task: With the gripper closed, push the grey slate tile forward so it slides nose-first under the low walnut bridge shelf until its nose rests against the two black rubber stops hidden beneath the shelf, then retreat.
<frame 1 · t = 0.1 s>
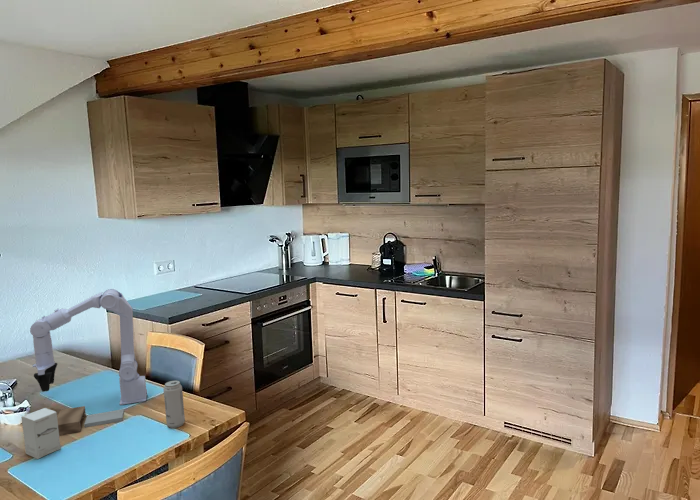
hand: (48, 387, 190), 10 cm above the table, fingers open, 7 cm apart
walnut bridge shelf: (70, 425, 180), on the table
energy drink can: (176, 425, 178), on the table
supplement box: (43, 452, 163), on the table
slate tile: (104, 421, 184), on the table
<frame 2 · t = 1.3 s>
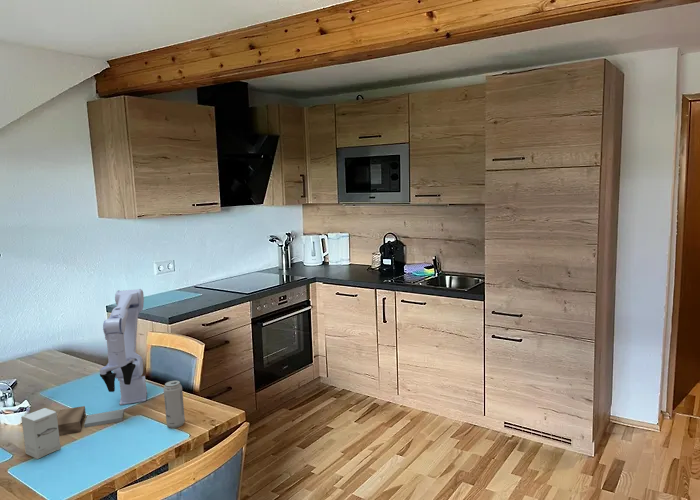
hand: (119, 387, 186), 10 cm above the table, fingers open, 7 cm apart
nothing on the table moved.
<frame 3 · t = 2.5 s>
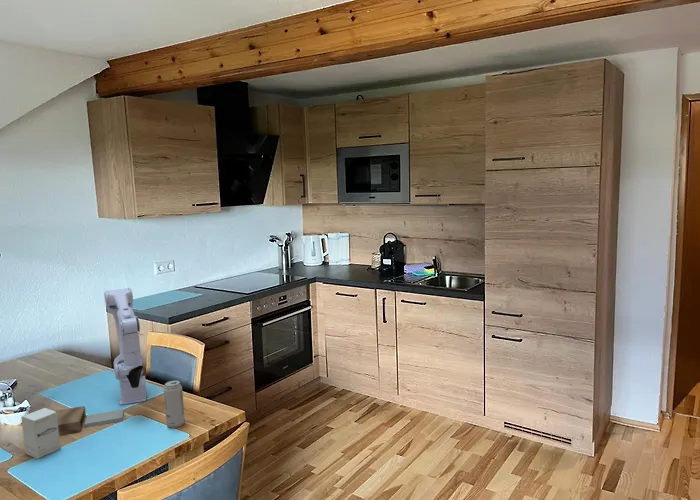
hand: (135, 387, 186), 10 cm above the table, fingers closed
nothing on the table moved.
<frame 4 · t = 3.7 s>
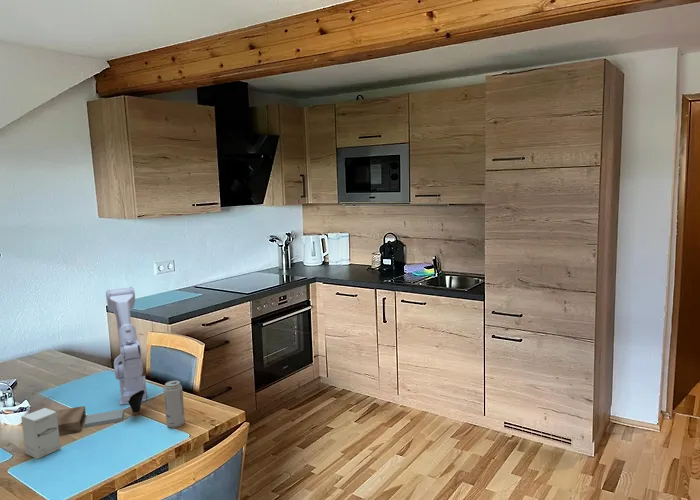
hand: (136, 411, 187), 1 cm above the table, fingers closed
nothing on the table moved.
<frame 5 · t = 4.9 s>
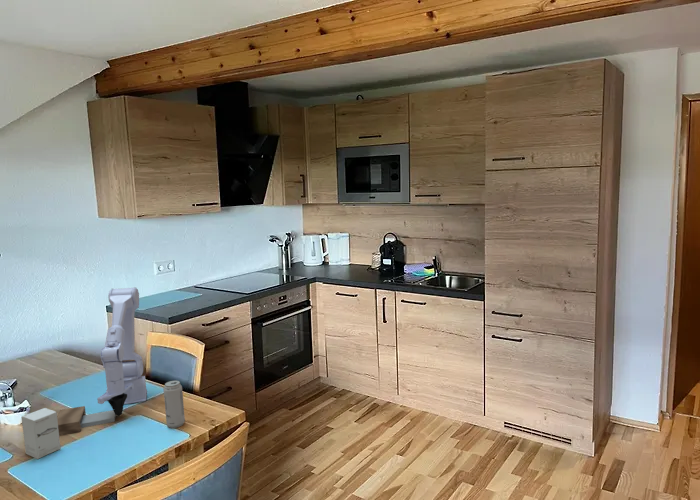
hand: (118, 414, 185), 1 cm above the table, fingers closed
slate tile: (97, 421, 184), on the table, touching gripper
everything else where it was.
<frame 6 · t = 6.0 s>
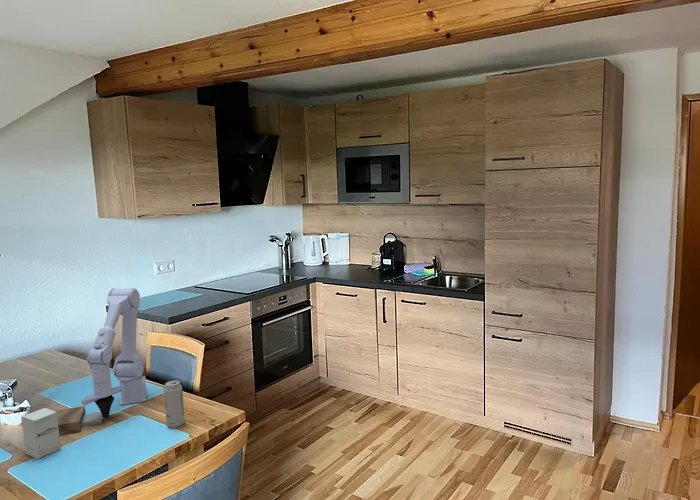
hand: (105, 417, 184), 1 cm above the table, fingers closed
slate tile: (84, 423, 183), on the table
everything else where it was.
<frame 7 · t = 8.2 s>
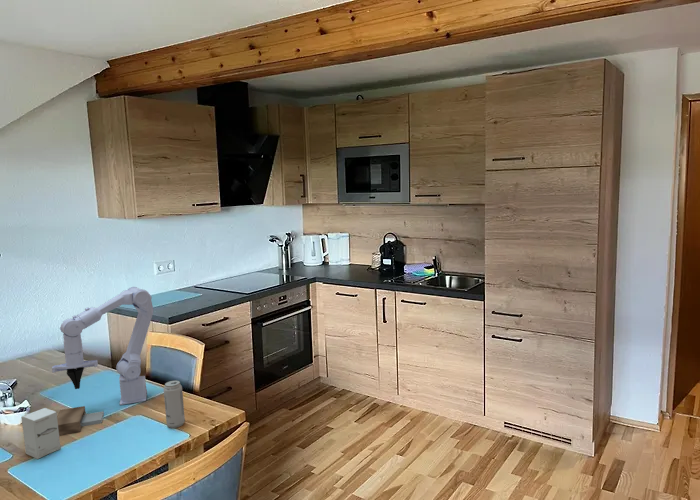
hand: (77, 387, 187), 11 cm above the table, fingers closed
nothing on the table moved.
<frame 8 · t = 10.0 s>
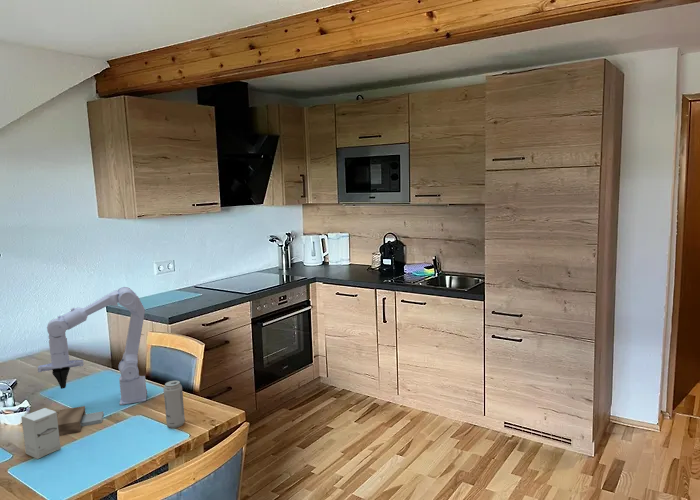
hand: (63, 387, 188), 10 cm above the table, fingers closed
nothing on the table moved.
at the end: slate tile 1.2 cm from the target spot, on the table; slate tile tilted 1°; slate tile moved 6.9 cm from its start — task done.
